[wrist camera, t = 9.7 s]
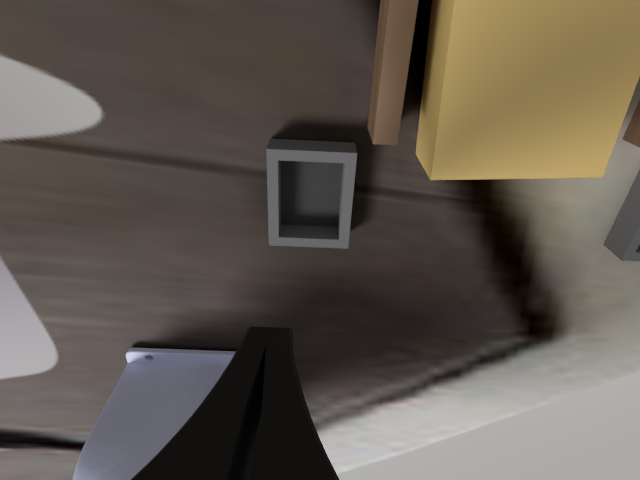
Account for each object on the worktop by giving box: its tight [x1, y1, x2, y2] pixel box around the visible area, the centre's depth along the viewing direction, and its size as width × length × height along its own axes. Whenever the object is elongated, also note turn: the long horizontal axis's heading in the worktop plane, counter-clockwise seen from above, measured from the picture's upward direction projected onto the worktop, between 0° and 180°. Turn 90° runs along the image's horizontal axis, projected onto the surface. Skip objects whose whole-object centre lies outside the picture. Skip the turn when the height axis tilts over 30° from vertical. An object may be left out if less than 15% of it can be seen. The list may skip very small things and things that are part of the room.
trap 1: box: [266, 139, 357, 249], centre depth 20 cm, size 4×5×2 cm
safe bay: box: [367, 0, 640, 147], centre depth 16 cm, size 13×8×2 cm, turn 87°
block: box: [416, 0, 640, 180], centre depth 16 cm, size 7×7×4 cm
